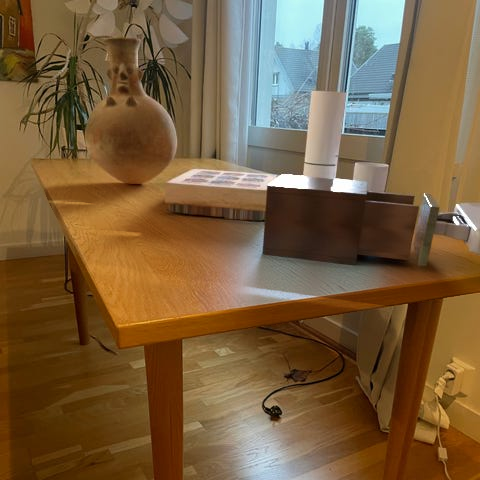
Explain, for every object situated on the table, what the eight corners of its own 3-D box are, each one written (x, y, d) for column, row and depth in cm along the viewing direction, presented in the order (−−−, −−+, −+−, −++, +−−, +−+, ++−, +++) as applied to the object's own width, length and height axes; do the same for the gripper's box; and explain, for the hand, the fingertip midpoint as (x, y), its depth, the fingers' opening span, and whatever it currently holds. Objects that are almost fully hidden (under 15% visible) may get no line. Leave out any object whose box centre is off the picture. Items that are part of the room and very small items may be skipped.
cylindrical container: (335, 212, 110) (351, 93, 100) (323, 217, 104) (339, 91, 94) (306, 207, 113) (319, 91, 103) (294, 212, 108) (306, 90, 97)
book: (183, 192, 126) (151, 212, 100) (184, 166, 123) (151, 181, 98) (276, 199, 123) (267, 222, 98) (278, 173, 121) (270, 190, 95)
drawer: (450, 249, 82) (463, 196, 78) (461, 270, 71) (476, 210, 68) (340, 237, 86) (347, 186, 82) (335, 255, 75) (343, 198, 72)
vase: (104, 175, 143) (94, 41, 128) (183, 179, 143) (182, 45, 128) (76, 188, 122) (60, 29, 107) (169, 193, 121) (167, 34, 106)
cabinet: (358, 244, 86) (368, 181, 81) (355, 265, 75) (366, 194, 70) (276, 235, 89) (281, 174, 84) (262, 254, 78) (267, 185, 73)
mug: (377, 228, 98) (388, 167, 93) (344, 224, 100) (353, 164, 95) (381, 218, 106) (390, 162, 101) (351, 214, 108) (359, 159, 103)
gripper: (540, 273, 65) (433, 260, 68) (504, 236, 83) (421, 227, 86) (555, 227, 62) (443, 216, 65) (515, 199, 80) (428, 191, 83)
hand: (430, 222), depth 75 cm, fingers closed on drawer, 5 cm apart
